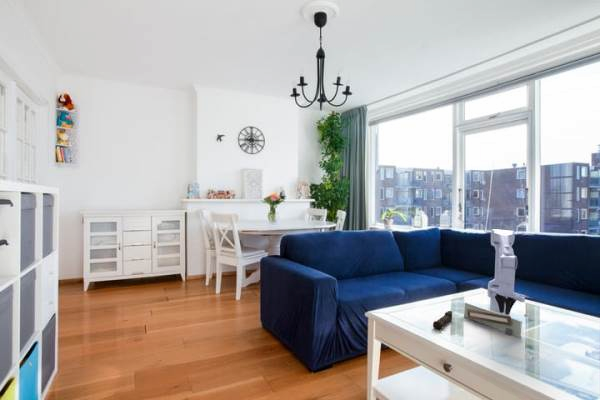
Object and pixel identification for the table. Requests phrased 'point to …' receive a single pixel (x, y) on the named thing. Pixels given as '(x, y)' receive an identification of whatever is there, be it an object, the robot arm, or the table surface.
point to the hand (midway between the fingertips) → (504, 313)
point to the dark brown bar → (443, 321)
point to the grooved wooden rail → (489, 317)
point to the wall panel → (508, 330)
